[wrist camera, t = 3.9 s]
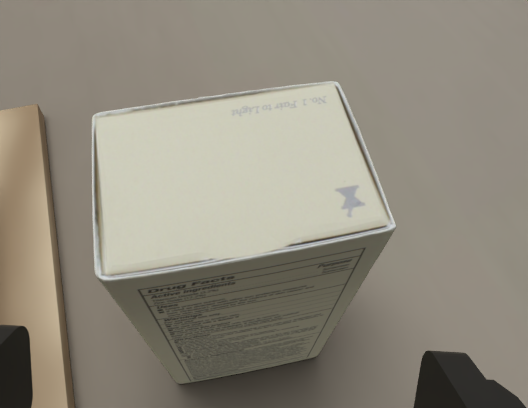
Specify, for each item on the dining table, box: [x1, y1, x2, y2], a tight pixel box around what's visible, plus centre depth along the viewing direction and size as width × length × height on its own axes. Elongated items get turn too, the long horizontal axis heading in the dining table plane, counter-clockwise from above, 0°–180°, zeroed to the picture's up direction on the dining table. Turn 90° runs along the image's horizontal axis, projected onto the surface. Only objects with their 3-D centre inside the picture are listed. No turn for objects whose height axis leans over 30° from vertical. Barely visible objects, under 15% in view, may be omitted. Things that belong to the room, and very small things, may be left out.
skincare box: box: [92, 81, 396, 384], centre depth 16 cm, size 6×4×12 cm
